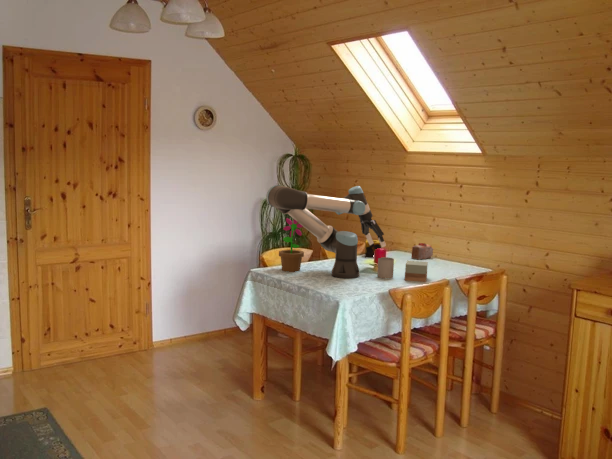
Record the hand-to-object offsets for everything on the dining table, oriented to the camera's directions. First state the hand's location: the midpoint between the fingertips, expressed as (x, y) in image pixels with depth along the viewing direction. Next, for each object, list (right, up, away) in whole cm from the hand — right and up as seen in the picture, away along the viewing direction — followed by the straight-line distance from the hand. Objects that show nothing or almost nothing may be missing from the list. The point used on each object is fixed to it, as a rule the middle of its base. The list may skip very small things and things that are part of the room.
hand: (377, 245), depth 363 cm
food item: (+32, -9, +38) cm, 50 cm away
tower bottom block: (+18, -18, -24) cm, 35 cm away
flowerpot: (-50, -14, -9) cm, 52 cm away
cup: (+2, -17, -21) cm, 27 cm away
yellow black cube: (+1, -8, +39) cm, 40 cm away
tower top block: (+18, -13, -25) cm, 33 cm away
